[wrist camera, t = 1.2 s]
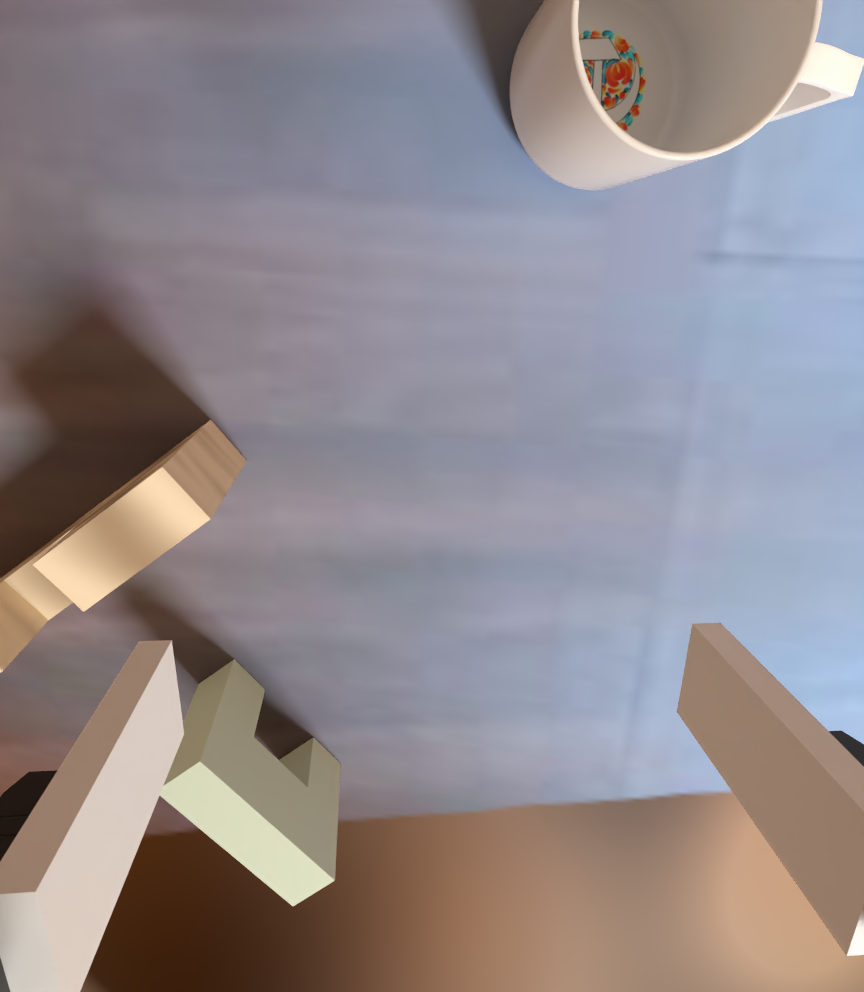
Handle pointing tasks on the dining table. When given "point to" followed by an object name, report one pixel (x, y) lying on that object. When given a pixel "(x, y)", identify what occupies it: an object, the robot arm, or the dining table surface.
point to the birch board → (118, 536)
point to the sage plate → (256, 789)
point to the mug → (664, 81)
